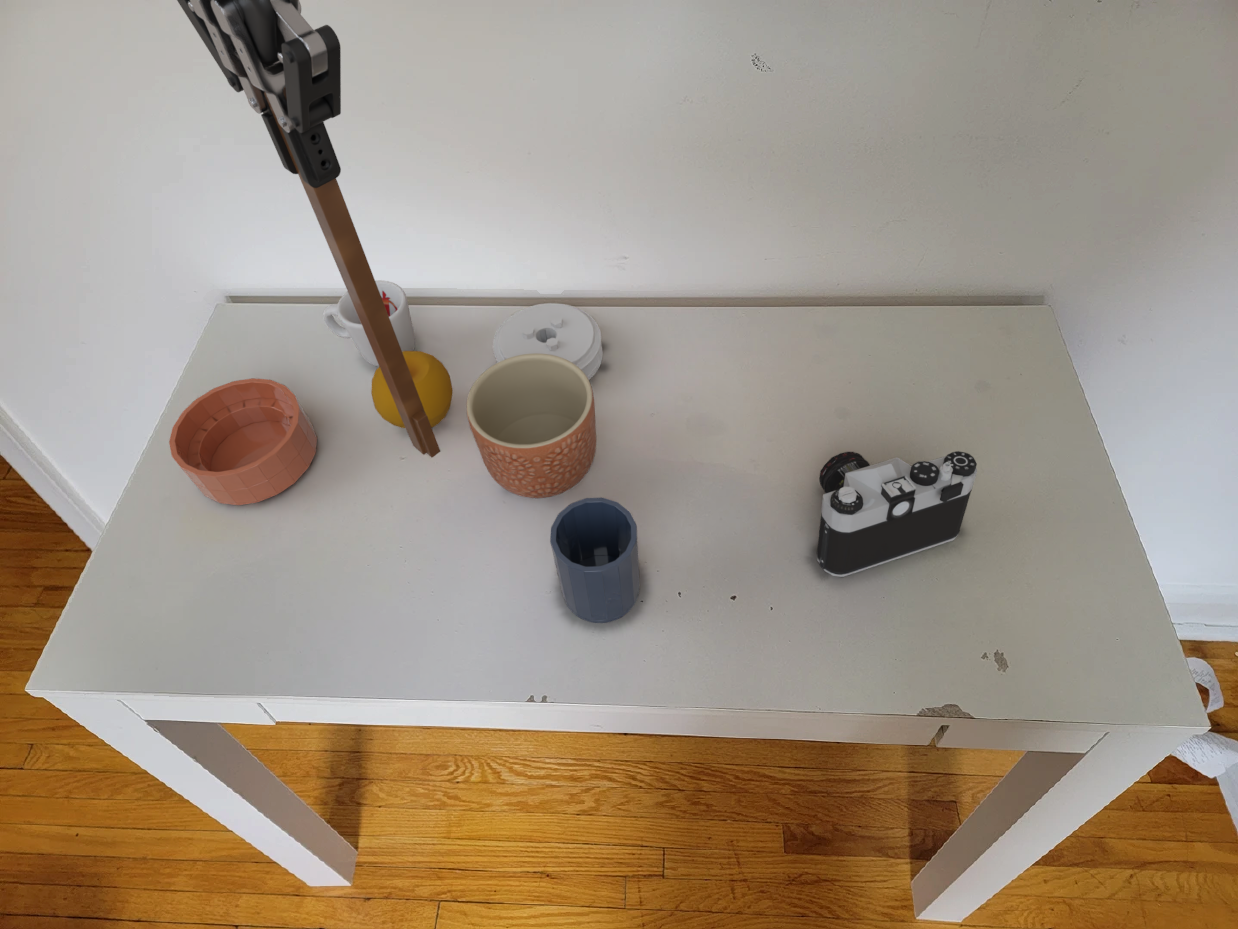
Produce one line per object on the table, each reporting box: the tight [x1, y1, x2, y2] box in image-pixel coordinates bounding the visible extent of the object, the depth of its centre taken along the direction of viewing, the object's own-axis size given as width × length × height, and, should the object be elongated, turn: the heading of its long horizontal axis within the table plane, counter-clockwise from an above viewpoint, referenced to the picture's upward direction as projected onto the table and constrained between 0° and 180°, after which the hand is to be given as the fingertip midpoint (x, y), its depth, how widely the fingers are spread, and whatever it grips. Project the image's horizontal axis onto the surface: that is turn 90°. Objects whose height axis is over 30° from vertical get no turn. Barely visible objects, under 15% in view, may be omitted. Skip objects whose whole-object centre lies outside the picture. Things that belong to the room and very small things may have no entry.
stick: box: [264, 87, 441, 459], centre depth 55 cm, size 2×3×32 cm, turn 46°
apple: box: [370, 350, 454, 429], centre depth 84 cm, size 9×8×9 cm
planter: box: [466, 353, 597, 499], centre depth 78 cm, size 12×12×11 cm
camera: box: [816, 450, 978, 578], centre depth 73 cm, size 15×11×10 cm
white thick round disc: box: [492, 302, 604, 381], centre depth 90 cm, size 13×13×5 cm
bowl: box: [168, 377, 318, 506], centre depth 83 cm, size 13×13×6 cm
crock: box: [549, 496, 641, 624], centre depth 70 cm, size 7×7×10 cm
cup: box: [322, 279, 416, 367], centre depth 91 cm, size 11×8×8 cm
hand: (314, 172), depth 47 cm, fingers closed on stick, 1 cm apart
